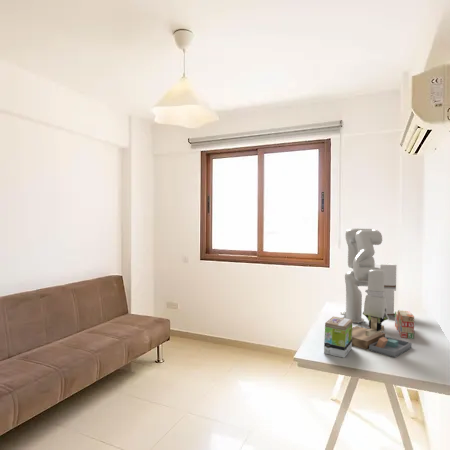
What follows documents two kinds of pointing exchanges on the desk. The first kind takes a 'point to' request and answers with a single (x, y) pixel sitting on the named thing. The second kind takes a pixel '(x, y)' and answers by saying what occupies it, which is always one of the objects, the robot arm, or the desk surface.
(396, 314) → the stack of blocks
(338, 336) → the tea box
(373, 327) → the scraper
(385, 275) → the tall white pillar
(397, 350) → the box
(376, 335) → the brown wooden board
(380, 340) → the terracotta tile
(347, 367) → the desk surface
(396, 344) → the teal block
